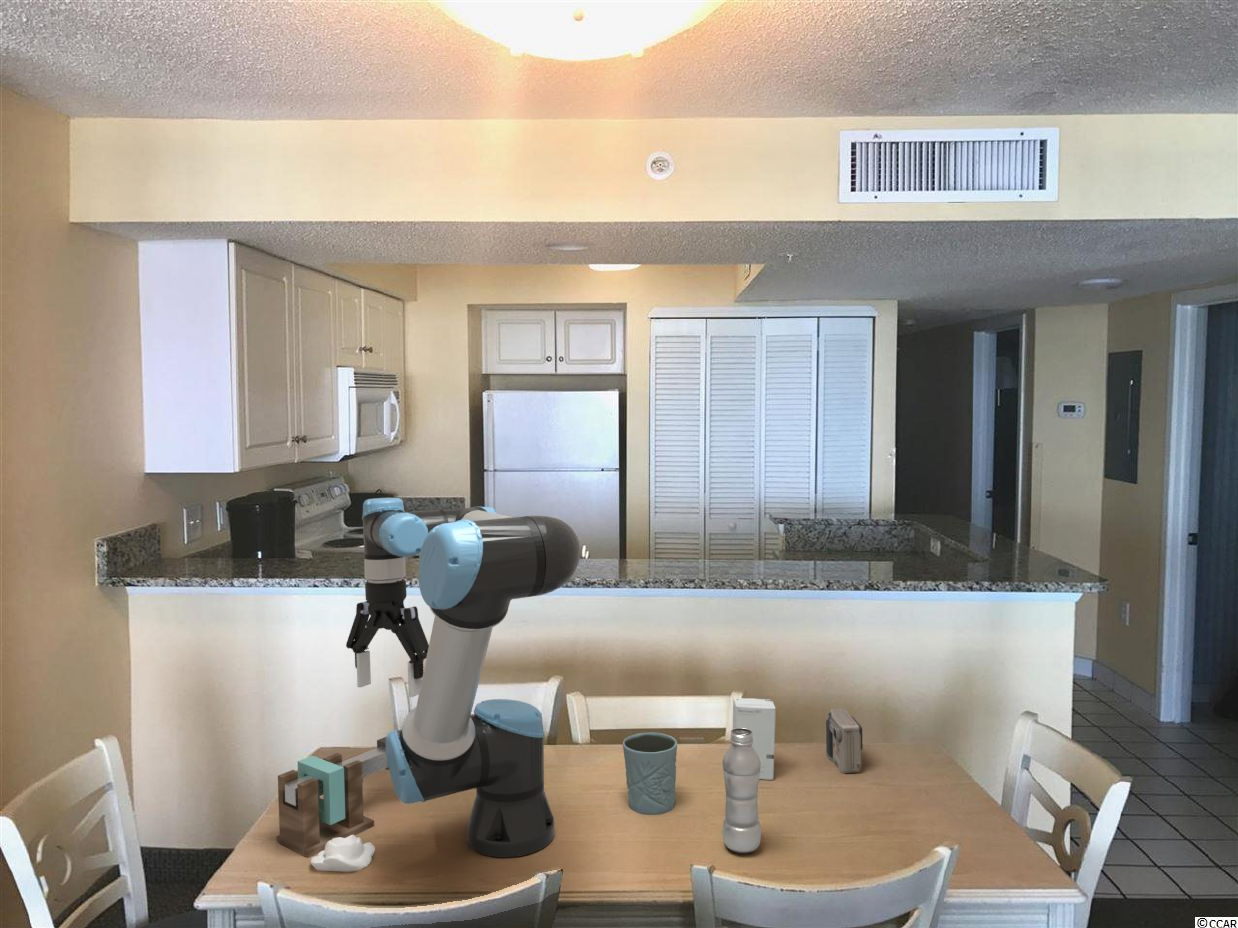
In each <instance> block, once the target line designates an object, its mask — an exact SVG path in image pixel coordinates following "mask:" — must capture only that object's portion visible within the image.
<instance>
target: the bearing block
mask: <svg viewBox="0 0 1238 928" xmlns="http://www.w3.org/2000/svg"><path fill="white" fill-rule="evenodd" d="M322 759H323V760H325V761H328V762H331V763H333V764H338V763H340V762H343V754H342V753H339V752H336V753H334V754H331V755H328V756H326V757H324V758H322ZM343 767H344V789H345V819H343V820H341V821H339V822H336V823H334V824H332V825H329V824H327V823H324V822H322V821H320V820H319V803H318V779H315V778H311V779H309V780H306V781H303V782H301V783H298V784H297V785H298V805H297V806H294V805H292V804H290V803H288V802H285V784H287V783H289V782H292V781H294V780H297V779H298V770H295V769H291V770H288V771H287V772H283V773H281V774H279V775H277V792H278V799H277V800H278V823H279V827H278V828H279V829H278V830H279V835H277V836H276V837H275V838H276V843H277V844H279V845H281V846H282V847H285V848H288V850H289V849H290V850H292V851H293V852H295V853H297V854H299V855H301V856H303V857H306V858H311V857H314V856H316V855H318V853H319V852H321V851H323V850H325V845H326V843H327V842H328V841H330V840H332V839H333V838H338V837H342V838H347V837H349V836H350V835H354V836H357V835H359V834H360V833H362V832H365V831H366V830H369V829H370V828H373V827H374V826H375V820H374V819H372V818H369V817H366V816H364V785H363V784H364V783H363V778H362V762H361V761H358V760H356V761H354V762H351V763H349V764H346V765H344V766H343Z"/></svg>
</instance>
